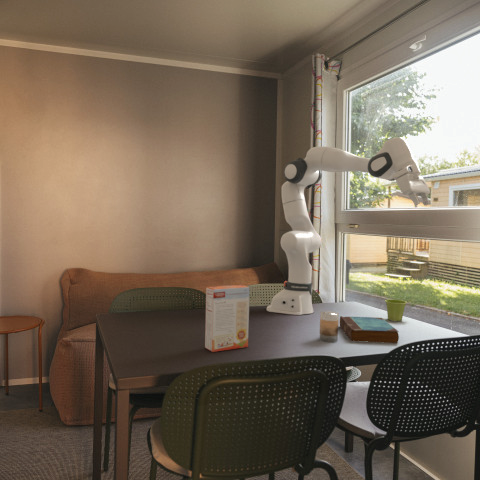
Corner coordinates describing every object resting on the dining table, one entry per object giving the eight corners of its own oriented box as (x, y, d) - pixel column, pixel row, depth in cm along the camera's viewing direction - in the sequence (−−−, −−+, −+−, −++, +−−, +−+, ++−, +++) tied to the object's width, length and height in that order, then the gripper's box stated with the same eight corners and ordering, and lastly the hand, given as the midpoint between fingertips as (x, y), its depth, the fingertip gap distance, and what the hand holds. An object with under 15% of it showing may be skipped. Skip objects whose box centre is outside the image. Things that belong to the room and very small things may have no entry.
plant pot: (407, 323, 200) (408, 303, 200) (385, 321, 202) (386, 302, 202) (404, 318, 209) (405, 300, 209) (382, 317, 211) (383, 298, 211)
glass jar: (319, 341, 165) (320, 314, 164) (319, 336, 171) (320, 310, 171) (337, 343, 163) (339, 315, 163) (337, 338, 170) (338, 312, 169)
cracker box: (239, 343, 158) (241, 284, 157) (248, 347, 153) (250, 286, 152) (203, 347, 151) (205, 285, 150) (211, 352, 146) (214, 288, 145)
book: (339, 327, 189) (339, 315, 189) (381, 329, 188) (382, 317, 188) (350, 342, 166) (351, 329, 166) (398, 344, 166) (399, 331, 165)
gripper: (411, 179, 190) (425, 208, 186) (390, 175, 175) (404, 207, 171) (425, 171, 185) (439, 201, 182) (404, 167, 171) (419, 200, 167)
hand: (422, 204), depth 176 cm, fingers open, 8 cm apart
